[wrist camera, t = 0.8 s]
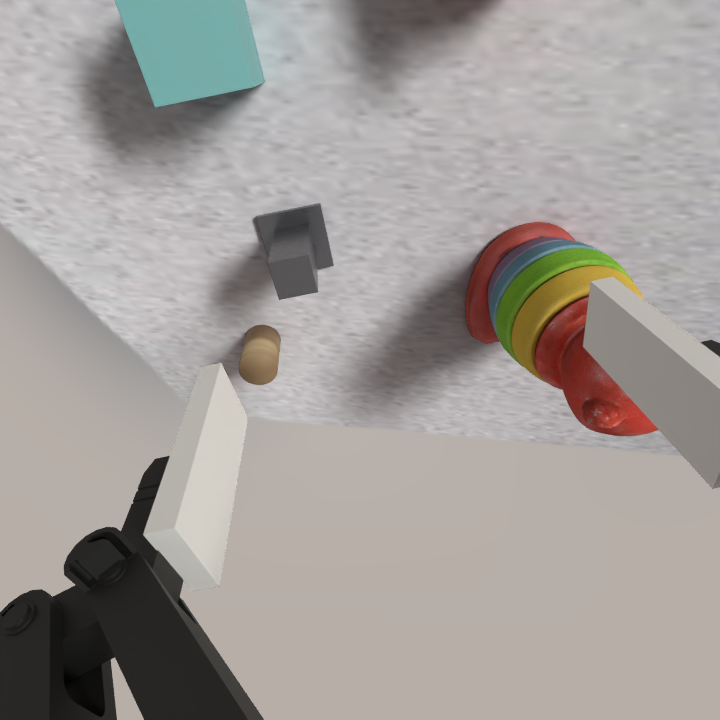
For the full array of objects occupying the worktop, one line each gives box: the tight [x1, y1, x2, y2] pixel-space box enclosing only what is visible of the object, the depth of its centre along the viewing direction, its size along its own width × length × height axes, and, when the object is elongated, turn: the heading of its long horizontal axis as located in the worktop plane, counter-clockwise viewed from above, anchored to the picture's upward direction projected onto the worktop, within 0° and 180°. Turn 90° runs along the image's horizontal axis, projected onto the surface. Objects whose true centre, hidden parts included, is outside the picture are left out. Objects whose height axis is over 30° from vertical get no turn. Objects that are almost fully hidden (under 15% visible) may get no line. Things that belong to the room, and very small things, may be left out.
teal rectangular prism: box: [115, 0, 265, 108], centre depth 24 cm, size 5×5×7 cm
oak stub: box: [239, 325, 281, 385], centre depth 37 cm, size 3×3×4 cm
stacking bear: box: [465, 222, 659, 436], centre depth 30 cm, size 11×10×18 cm
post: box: [256, 203, 334, 300], centre depth 31 cm, size 5×5×7 cm
